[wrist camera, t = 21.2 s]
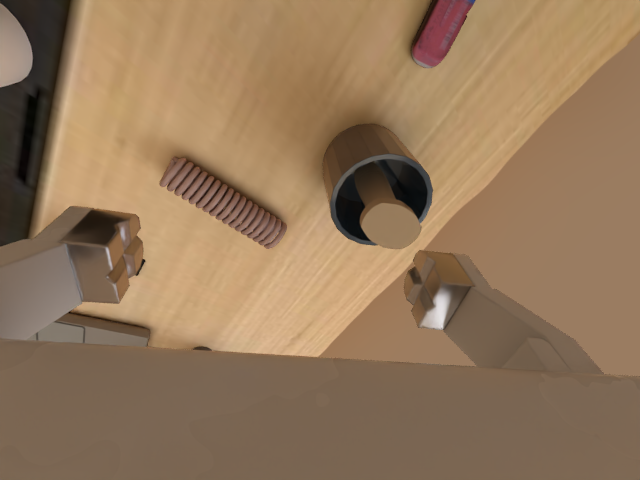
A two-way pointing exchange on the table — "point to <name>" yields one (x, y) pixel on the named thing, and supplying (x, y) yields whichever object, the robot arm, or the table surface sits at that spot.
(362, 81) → the table surface
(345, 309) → the table surface
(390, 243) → the handle
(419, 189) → the open cylindrical bucket
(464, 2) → the eraser
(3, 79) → the cylinder with rectangular tab
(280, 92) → the table surface
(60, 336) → the laptop
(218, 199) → the coil
